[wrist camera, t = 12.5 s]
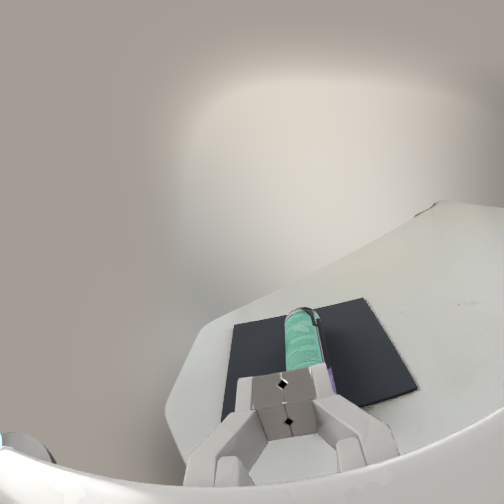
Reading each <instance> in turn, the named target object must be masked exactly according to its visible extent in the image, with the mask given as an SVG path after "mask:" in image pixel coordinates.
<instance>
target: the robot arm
mask: <svg viewBox="0 0 504 504" xmlns="http://www.w3.org/2000/svg"><path fill="white" fill-rule="evenodd" d="M314 433H318V435H319V436H321V437H322V438H323V439H324V440H325V441H326V442H327V443H328V444H329V445H330V446H331V447H332V448H333V449H334V450H336V455H337V474H332V475H327V476H322V477H317V478H311V479H306V480H299V481H293V482H285V483H277V484H267V485H256V486H255V484H254V482H253V481H252V479H251V477H250V476H249V474H248V473H249V471H250V470H251V468H252V467H253V465H254V464H255V462H256V461H257V459H258V458H259V456H260V455H261V453H262V452H263V450H264V448H265V447H266V445H267V444H268V441H271V440H278V439H283V438H289V437H295V436H302V435H308V434H314ZM0 504H504V406H503V407H501V408H500V409H498V410H496V411H495V412H493V413H491V414H490V415H488V416H486V417H484V418H482V419H481V420H479V421H477V422H475V423H473V424H471V425H469V426H468V427H466V428H464V429H462V430H460V431H458V432H455V433H453V434H451V435H449V436H447V437H445V438H443V439H440V440H438V441H436V442H433V443H431V444H429V445H426V446H424V447H421V448H419V449H416V450H414V451H411V452H408V453H405V454H403V455H400V454H399V451H398V448H397V445H396V443H395V440H394V438H393V435H392V432H391V430H390V427H389V425H387V424H385V423H384V422H382V421H380V420H379V419H377V418H375V417H374V416H372V415H371V414H369V413H367V412H366V411H364V410H363V409H361V408H359V407H358V406H356V405H355V404H353V403H352V402H350V401H348V400H347V399H345V398H344V397H342V396H341V395H339V394H338V395H334V391H333V388H332V384H331V381H330V377H329V373H328V370H327V366H326V364H325V363H320V364H316V365H312V366H308V367H304V368H299V369H294V370H289V371H284V372H278V373H272V374H265V375H258V376H253V377H244V378H239V379H238V382H237V393H236V404H235V412H232V413H230V414H229V415H228V416H227V417H226V418H225V419H224V420H223V421H222V423H221V424H220V425H219V426H218V427H217V428H216V429H215V430H214V431H213V432H212V433H211V434H210V435H209V436H208V437H207V438H206V439H205V440H204V441H203V442H202V443H201V444H200V445H199V447H198V448H197V449H196V450H195V451H194V452H193V453H192V454H191V455H190V456H189V458H188V462H187V467H186V472H185V477H184V482H183V486H168V485H158V484H149V483H140V482H133V481H127V480H120V479H115V478H109V477H104V476H100V475H95V474H91V473H86V472H82V471H78V470H74V469H71V468H67V467H63V466H60V465H57V464H54V463H50V462H47V461H44V460H41V459H38V458H36V457H33V456H30V455H27V454H25V453H22V452H20V451H17V450H15V449H14V448H12V447H7V446H2V439H1V435H0Z"/></svg>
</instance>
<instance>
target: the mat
mask: <svg viewBox="0 0 504 504" xmlns="http://www.w3.org/2000/svg"><path fill="white" fill-rule="evenodd" d="M313 310H314V311H315V312H316V313H317V314H318V316H319V318H320V321H321V325H322V329H323V333H324V338H325V342H326V346H327V351H328V355H329V360H330V364H331V369H332V374H333V378H334V383H335V388H336V393H337V395H338V394H339V395H341V396H342V397H344V398H345V399H347V400H348V401H350V402H352V403H353V404H355V405H356V406H358V407H359V408H360V407H363V406H367V405H370V404H374V403H377V402H381V401H384V400H387V399H390V398H393V397H396V396H399V395H402V394H405V393H408V392H411V391H414V390H417V386H416V384H415V382H414V381H413V379H412V377H411V375H410V373H409V372H408V370H407V368H406V367H405V365H404V363H403V361H402V360H401V358H400V356H399V355H398V353H397V351H396V350H395V348H394V346H393V345H392V343H391V341H390V340H389V338H388V336H387V335H386V333H385V331H384V330H383V328H382V327H381V325H380V323H379V322H378V320H377V319H376V317H375V315H374V314H373V312H372V311H371V309H370V308H369V306H368V304H367V303H366V301H365V300H364V298H359V299H355V300H351V301H347V302H343V303H339V304H335V305H330V306H326V307H322V308H317V309H313ZM286 317H287V315H284V316H279V317H274V318H269V319H264V320H259V321H253V322H248V323H242V324H237V325H234V330H233V337H232V344H231V351H230V359H229V366H228V373H227V380H226V388H225V395H224V402H223V410H222V417H221V423H222V421H223V420H224V419H225V418H226V417H227V416H228V415H229V414H230V413H232V412H235V404H236V393H237V382H238V379H239V378H244V377H253V376H258V375H265V374H272V373H278V372H284V371H286V348H285V320H286Z"/></svg>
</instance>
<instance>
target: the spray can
mask: <svg viewBox="0 0 504 504" xmlns="http://www.w3.org/2000/svg"><path fill="white" fill-rule="evenodd" d="M285 348H286V371H289V370H294V369H299V368H304V367H308V366H312V365H316V364H320V363H325V364H326V366H327V370H328V373H329V377H330V381H331V384H332V388H333V391H334V395H337V393H336V388H335V383H334V378H333V374H332V369H331V364H330V360H329V355H328V351H327V346H326V342H325V338H324V333H323V329H322V325H321V321H320V318H319V316H318V314H317V313H316V312H315V311H314V310H313V309H311V308H307V307H300V308H296V309H294V310H292V311H291V312H290V313H289V314H288V315H287V317H286V320H285Z"/></svg>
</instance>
